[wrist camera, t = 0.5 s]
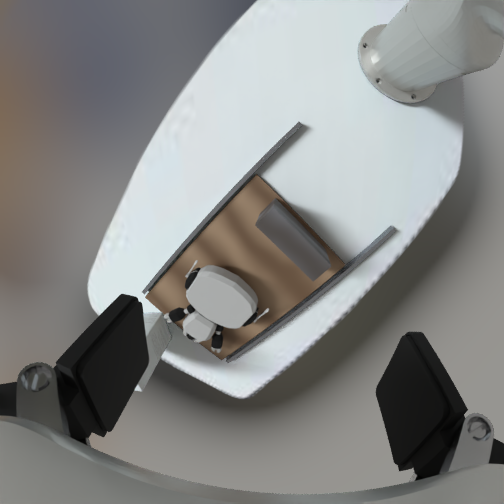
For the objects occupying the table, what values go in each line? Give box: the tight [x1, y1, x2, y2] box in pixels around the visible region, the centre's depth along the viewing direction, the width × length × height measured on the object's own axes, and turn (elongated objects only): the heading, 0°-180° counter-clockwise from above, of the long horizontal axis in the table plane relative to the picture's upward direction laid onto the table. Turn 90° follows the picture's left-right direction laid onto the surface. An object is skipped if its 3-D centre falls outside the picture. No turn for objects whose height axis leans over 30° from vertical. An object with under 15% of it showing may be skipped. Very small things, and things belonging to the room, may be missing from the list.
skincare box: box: [135, 313, 171, 391], centre depth 41 cm, size 8×6×15 cm
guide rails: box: [142, 122, 396, 363], centre depth 40 cm, size 36×20×1 cm, turn 136°
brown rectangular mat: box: [145, 174, 345, 360], centre depth 39 cm, size 28×18×6 cm, turn 136°
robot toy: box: [164, 260, 269, 353], centre depth 42 cm, size 12×4×15 cm
